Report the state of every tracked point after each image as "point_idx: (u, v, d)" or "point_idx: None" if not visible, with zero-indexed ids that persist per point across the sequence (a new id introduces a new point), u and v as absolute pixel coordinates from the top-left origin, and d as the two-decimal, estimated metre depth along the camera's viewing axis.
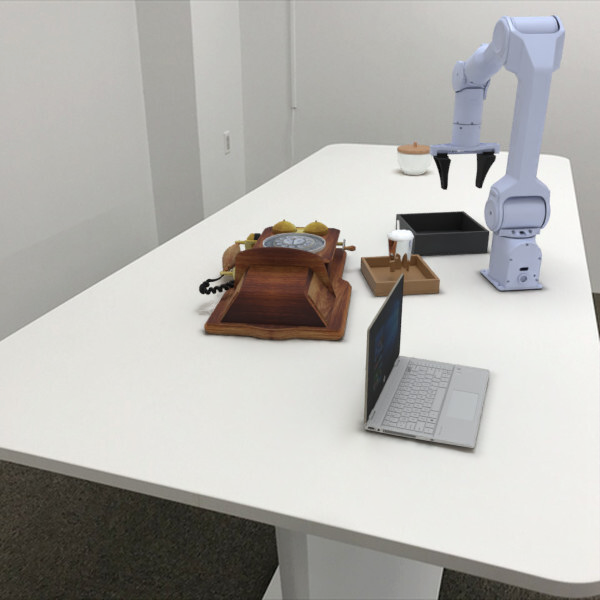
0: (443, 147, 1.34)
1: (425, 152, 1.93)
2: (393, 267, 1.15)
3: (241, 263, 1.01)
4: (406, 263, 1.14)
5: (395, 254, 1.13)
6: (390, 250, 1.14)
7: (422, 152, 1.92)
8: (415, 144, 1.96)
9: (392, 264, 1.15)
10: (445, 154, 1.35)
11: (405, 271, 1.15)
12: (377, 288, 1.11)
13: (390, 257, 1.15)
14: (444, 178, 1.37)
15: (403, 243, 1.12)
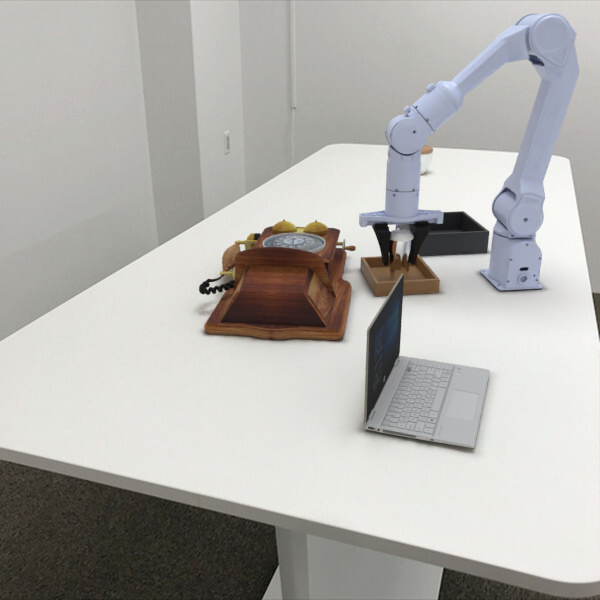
0: (374, 217, 1.11)
1: (425, 152, 1.93)
2: (393, 267, 1.15)
3: (241, 263, 1.01)
4: (406, 263, 1.14)
5: (395, 254, 1.13)
6: (390, 250, 1.14)
7: (422, 152, 1.92)
8: None
9: (392, 264, 1.15)
10: (385, 225, 1.12)
11: (405, 271, 1.15)
12: (377, 288, 1.11)
13: (390, 257, 1.15)
14: (384, 253, 1.14)
15: (403, 243, 1.12)
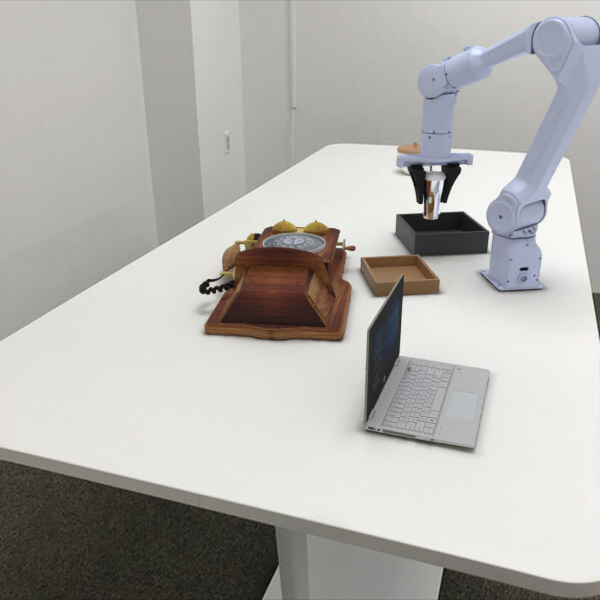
0: (411, 158, 1.22)
1: None
2: (427, 205, 1.26)
3: (241, 263, 1.01)
4: (439, 201, 1.25)
5: (429, 193, 1.25)
6: (424, 189, 1.25)
7: None
8: (415, 144, 1.96)
9: (426, 202, 1.26)
10: (420, 165, 1.23)
11: (438, 209, 1.26)
12: (377, 288, 1.11)
13: (424, 196, 1.26)
14: (419, 192, 1.25)
15: (437, 182, 1.23)
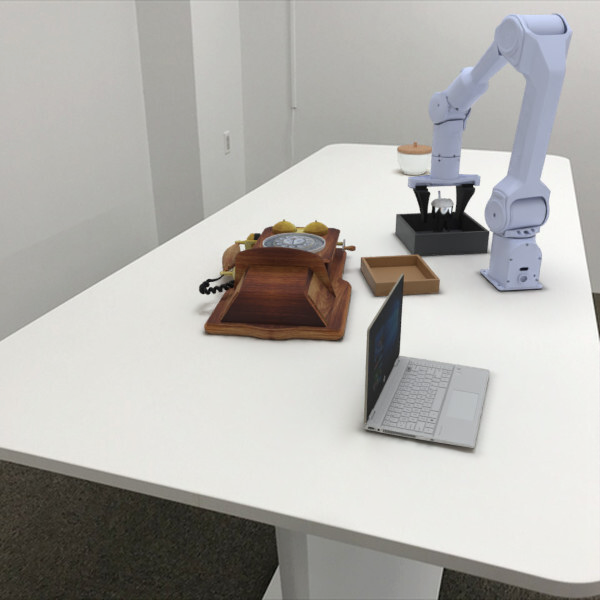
0: (421, 180, 1.30)
1: (425, 152, 1.93)
2: (436, 230, 1.35)
3: (241, 263, 1.01)
4: (447, 226, 1.34)
5: (438, 219, 1.33)
6: (433, 215, 1.34)
7: (422, 152, 1.92)
8: (415, 144, 1.96)
9: (435, 227, 1.35)
10: (424, 186, 1.31)
11: None
12: (377, 288, 1.11)
13: (433, 222, 1.34)
14: (424, 211, 1.33)
15: (445, 209, 1.32)
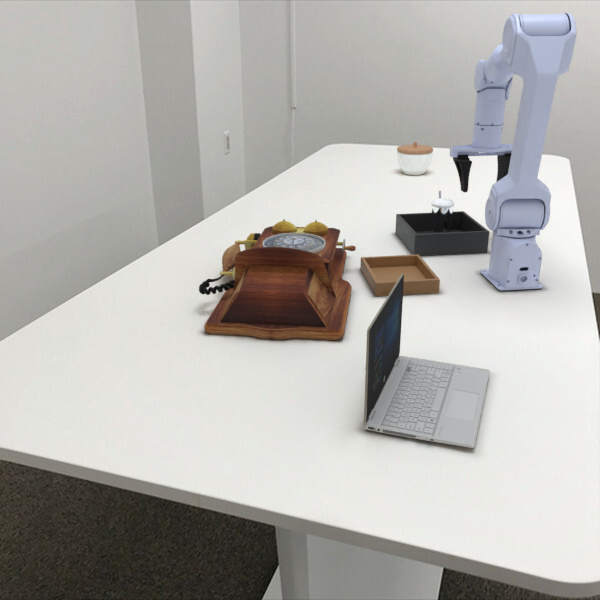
0: (464, 149, 1.31)
1: (425, 152, 1.93)
2: (436, 230, 1.35)
3: (241, 263, 1.01)
4: (447, 227, 1.34)
5: (438, 219, 1.33)
6: (434, 215, 1.34)
7: (422, 152, 1.92)
8: (415, 144, 1.96)
9: (435, 227, 1.35)
10: (466, 156, 1.32)
11: None
12: (377, 288, 1.11)
13: (433, 222, 1.34)
14: (464, 180, 1.33)
15: (445, 209, 1.32)
